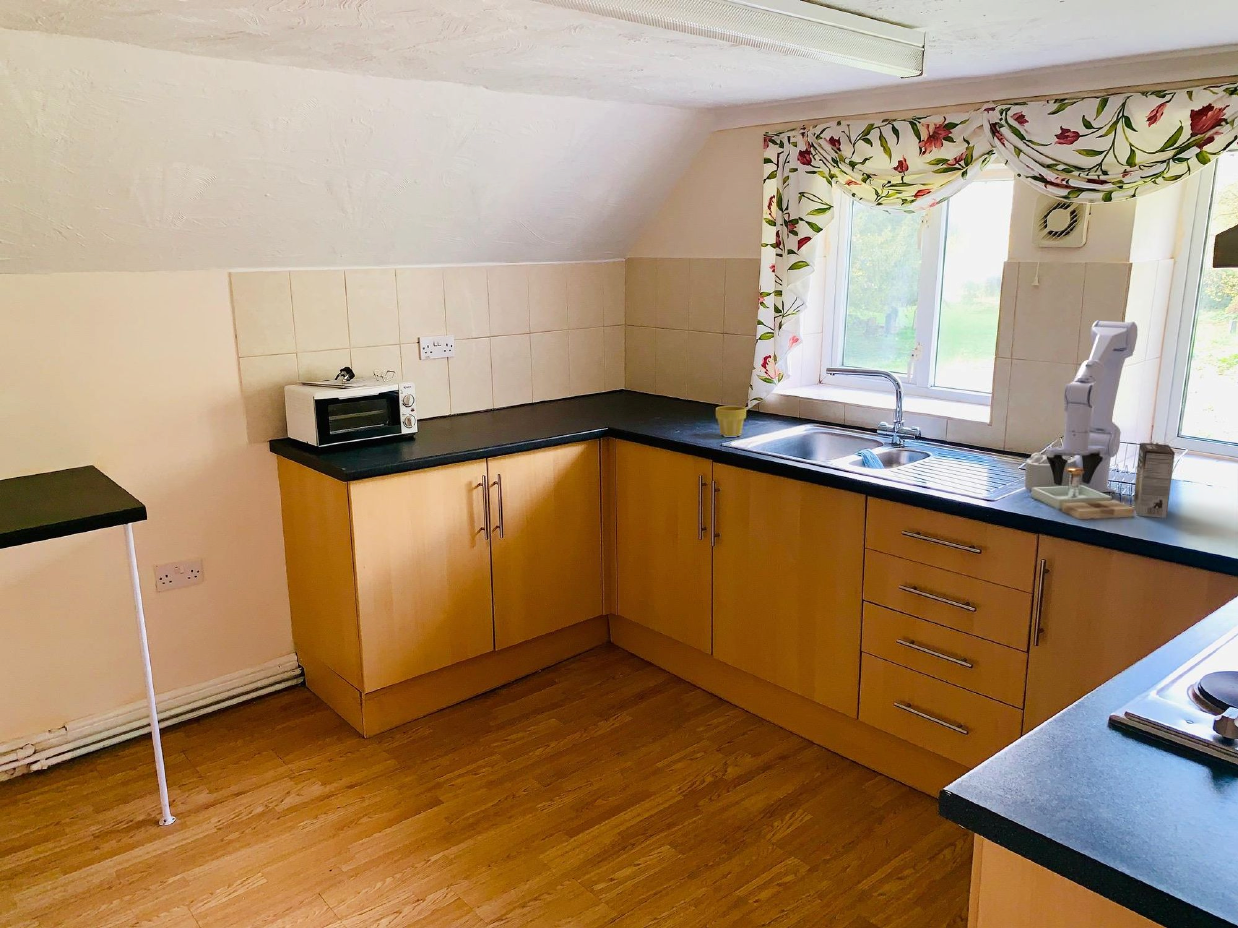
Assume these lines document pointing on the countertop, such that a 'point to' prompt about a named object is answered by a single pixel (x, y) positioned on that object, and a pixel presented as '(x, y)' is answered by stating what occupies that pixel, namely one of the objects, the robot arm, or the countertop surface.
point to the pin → (1074, 481)
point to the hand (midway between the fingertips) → (1071, 483)
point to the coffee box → (1153, 480)
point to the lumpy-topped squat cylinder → (1044, 472)
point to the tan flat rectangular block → (1098, 509)
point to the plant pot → (730, 419)
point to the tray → (1066, 495)
